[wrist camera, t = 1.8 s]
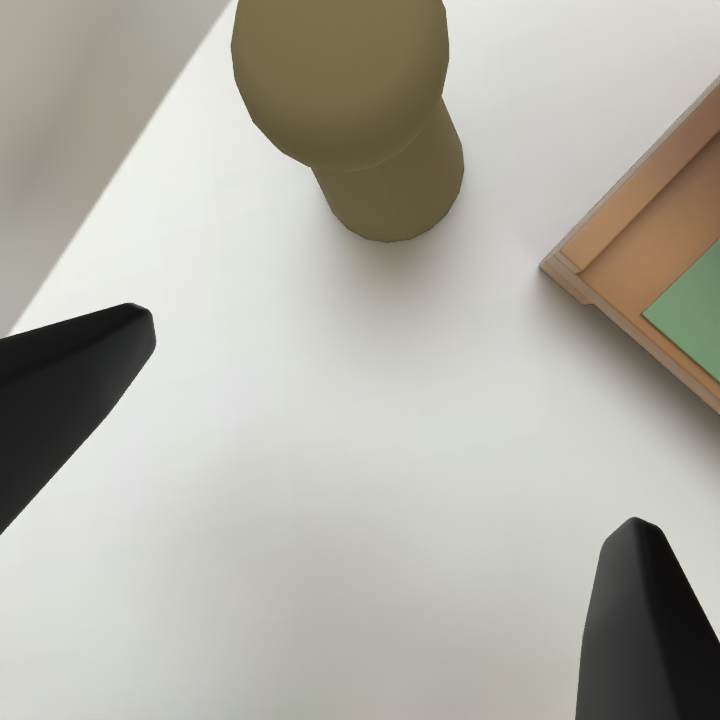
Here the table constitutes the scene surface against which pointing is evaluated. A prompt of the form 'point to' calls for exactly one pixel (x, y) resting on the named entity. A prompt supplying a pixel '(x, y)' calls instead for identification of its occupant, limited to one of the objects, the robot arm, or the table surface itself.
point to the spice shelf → (659, 250)
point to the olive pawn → (356, 104)
